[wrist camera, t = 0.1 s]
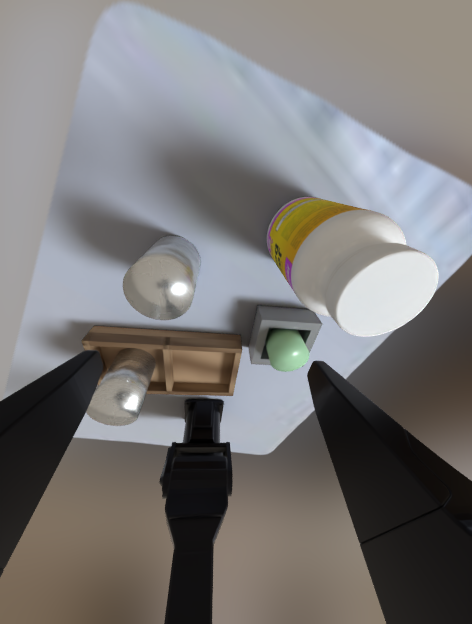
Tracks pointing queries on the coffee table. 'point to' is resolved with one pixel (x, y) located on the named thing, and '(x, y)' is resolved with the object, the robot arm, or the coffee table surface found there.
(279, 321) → the grey square tray
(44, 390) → the robot arm
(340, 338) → the coffee table surface
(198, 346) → the wooden tray
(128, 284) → the cylinder
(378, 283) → the supplement bottle
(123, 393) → the cylinder
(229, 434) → the coffee table surface
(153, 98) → the coffee table surface
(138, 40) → the coffee table surface
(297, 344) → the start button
